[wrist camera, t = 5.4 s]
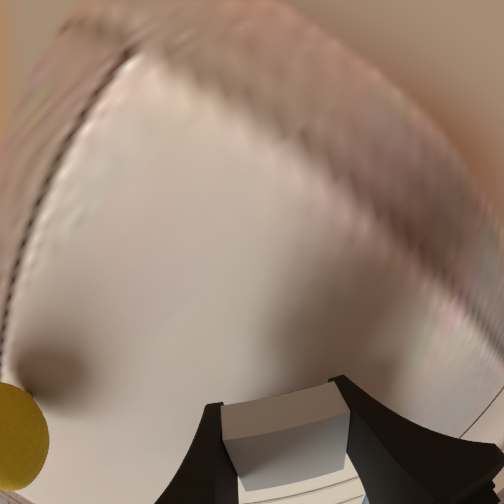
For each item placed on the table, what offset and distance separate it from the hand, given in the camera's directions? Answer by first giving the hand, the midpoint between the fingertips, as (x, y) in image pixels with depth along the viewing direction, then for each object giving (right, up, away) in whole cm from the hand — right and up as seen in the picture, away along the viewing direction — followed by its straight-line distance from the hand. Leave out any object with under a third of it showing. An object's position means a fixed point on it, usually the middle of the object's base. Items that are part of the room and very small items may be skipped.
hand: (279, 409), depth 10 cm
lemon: (-15, -3, +2) cm, 15 cm away
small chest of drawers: (+1, -6, +1) cm, 6 cm away
